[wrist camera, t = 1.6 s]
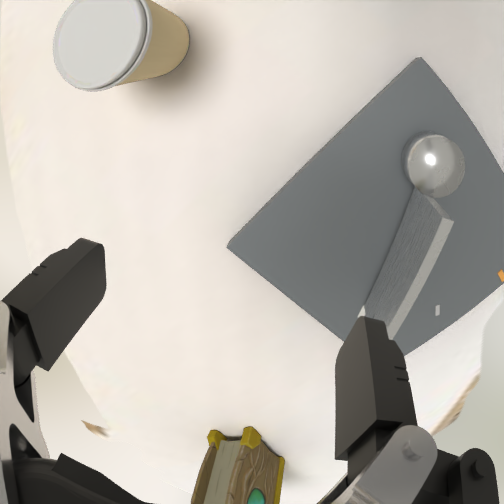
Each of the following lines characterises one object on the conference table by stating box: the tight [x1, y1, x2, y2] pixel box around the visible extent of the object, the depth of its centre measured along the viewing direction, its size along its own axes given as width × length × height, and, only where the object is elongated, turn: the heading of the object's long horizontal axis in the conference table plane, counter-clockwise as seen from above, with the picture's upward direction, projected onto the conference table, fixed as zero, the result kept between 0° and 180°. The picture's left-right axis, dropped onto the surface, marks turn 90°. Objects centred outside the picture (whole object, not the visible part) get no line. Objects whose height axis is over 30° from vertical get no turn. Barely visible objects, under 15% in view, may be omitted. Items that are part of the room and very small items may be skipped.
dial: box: [364, 131, 465, 340], centre depth 29 cm, size 22×6×8 cm, turn 170°
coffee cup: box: [53, 0, 189, 92], centre depth 23 cm, size 9×9×12 cm
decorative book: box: [191, 427, 285, 504], centre depth 53 cm, size 20×11×30 cm, turn 27°
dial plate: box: [226, 57, 504, 356], centre depth 35 cm, size 30×30×2 cm
